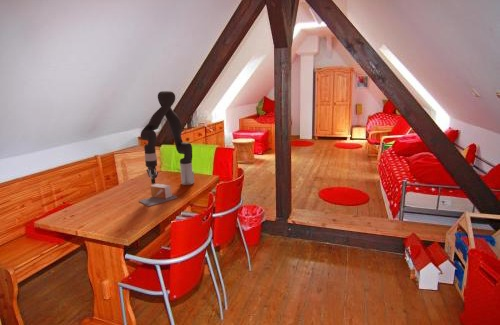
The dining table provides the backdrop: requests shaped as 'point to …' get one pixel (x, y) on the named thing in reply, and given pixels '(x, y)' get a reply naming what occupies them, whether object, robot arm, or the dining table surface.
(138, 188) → the dining table surface
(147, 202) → the slate mat
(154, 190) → the small box
